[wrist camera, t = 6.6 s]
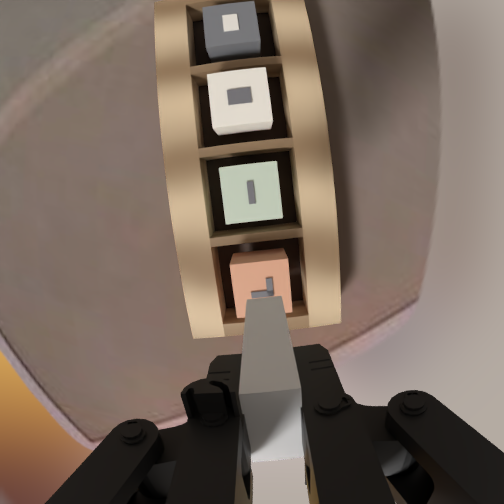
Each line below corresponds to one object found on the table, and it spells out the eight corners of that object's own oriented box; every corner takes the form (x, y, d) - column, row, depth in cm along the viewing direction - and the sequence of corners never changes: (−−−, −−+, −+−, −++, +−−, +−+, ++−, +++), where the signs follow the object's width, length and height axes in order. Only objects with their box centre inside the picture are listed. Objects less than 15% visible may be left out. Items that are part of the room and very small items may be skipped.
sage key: (223, 169, 22) (218, 167, 19) (273, 163, 22) (276, 160, 19) (229, 218, 23) (225, 224, 20) (279, 213, 23) (283, 218, 20)
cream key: (213, 88, 20) (206, 73, 17) (264, 82, 20) (265, 66, 17) (218, 135, 21) (212, 127, 17) (270, 129, 21) (273, 120, 17)
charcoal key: (208, 26, 19) (202, 6, 16) (254, 20, 19) (254, 0, 16) (212, 63, 20) (205, 47, 17) (259, 58, 20) (260, 40, 17)
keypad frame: (164, 18, 20) (154, 2, 17) (295, 2, 19) (299, -16, 17) (199, 321, 25) (193, 338, 23) (332, 307, 25) (341, 322, 22)
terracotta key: (233, 253, 23) (229, 265, 19) (283, 247, 22) (288, 259, 19) (239, 300, 23) (236, 318, 20) (287, 295, 23) (292, 312, 20)
